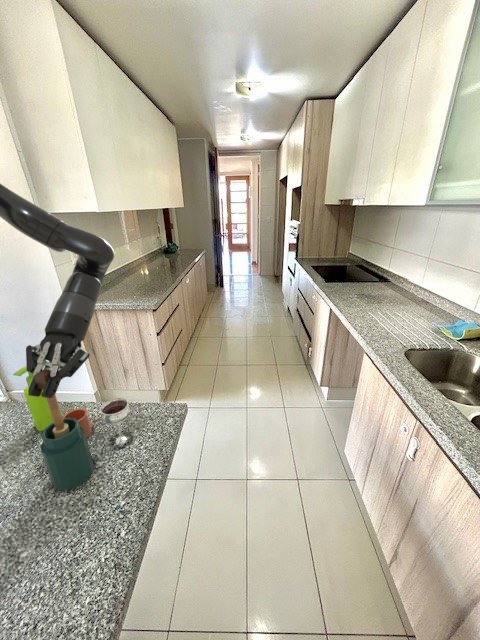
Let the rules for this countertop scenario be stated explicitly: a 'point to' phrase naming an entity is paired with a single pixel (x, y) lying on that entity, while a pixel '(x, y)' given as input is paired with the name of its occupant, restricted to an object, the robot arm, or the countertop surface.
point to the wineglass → (115, 414)
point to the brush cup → (80, 419)
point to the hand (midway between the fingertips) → (40, 396)
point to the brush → (52, 406)
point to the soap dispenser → (36, 404)
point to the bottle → (67, 456)
